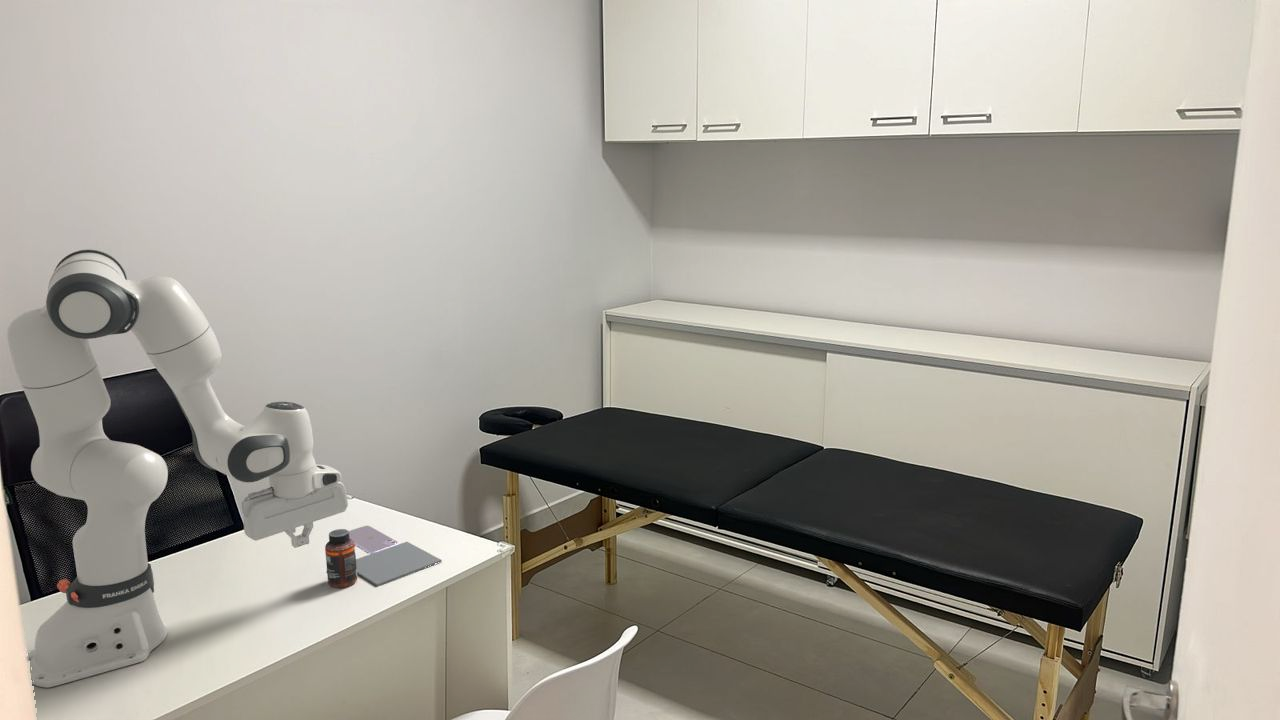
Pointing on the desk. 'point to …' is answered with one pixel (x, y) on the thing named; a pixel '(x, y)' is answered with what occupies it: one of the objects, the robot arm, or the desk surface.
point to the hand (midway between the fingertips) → (300, 544)
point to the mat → (393, 563)
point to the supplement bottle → (341, 559)
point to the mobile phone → (371, 539)
